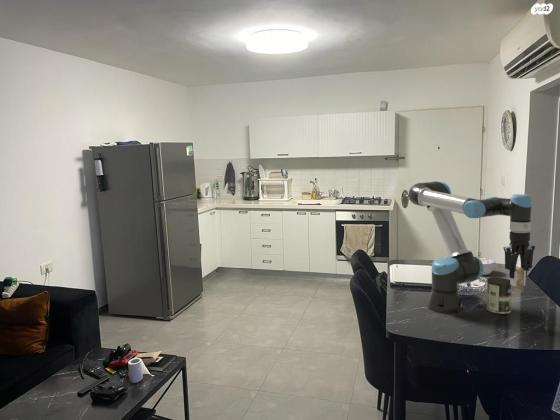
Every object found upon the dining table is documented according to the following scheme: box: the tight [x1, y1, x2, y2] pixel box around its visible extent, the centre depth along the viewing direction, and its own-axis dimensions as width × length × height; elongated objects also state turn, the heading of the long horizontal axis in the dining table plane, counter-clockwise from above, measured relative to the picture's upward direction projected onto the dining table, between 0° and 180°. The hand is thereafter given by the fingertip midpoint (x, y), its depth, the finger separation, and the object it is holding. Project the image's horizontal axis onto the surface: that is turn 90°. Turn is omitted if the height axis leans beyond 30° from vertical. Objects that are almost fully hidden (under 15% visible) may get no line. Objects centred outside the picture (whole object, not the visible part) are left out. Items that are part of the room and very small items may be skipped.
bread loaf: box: [511, 266, 524, 293], centre depth 176 cm, size 4×4×10 cm
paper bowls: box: [477, 257, 496, 276], centre depth 251 cm, size 15×15×8 cm
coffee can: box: [486, 277, 513, 315], centre depth 191 cm, size 10×10×14 cm
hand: (517, 284), depth 176 cm, fingers closed on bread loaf, 3 cm apart
